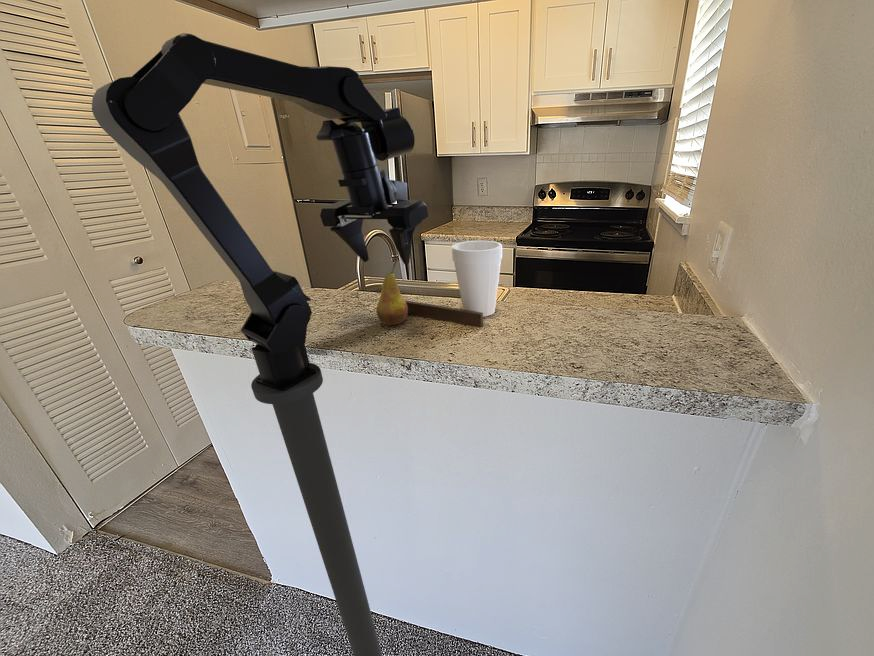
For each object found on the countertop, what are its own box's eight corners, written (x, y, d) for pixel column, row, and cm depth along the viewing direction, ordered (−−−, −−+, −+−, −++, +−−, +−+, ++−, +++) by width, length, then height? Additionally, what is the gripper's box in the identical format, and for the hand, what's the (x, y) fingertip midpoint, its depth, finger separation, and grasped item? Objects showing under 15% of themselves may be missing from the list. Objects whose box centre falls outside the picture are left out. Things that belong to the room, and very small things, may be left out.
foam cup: (481, 300, 87) (479, 238, 81) (512, 310, 81) (512, 244, 75) (446, 311, 81) (441, 246, 75) (476, 324, 75) (474, 254, 69)
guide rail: (481, 327, 74) (480, 314, 73) (393, 311, 82) (392, 300, 81) (483, 325, 75) (483, 312, 73) (396, 310, 83) (395, 298, 82)
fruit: (378, 319, 78) (368, 258, 73) (408, 316, 80) (401, 255, 74) (378, 330, 74) (368, 265, 68) (410, 327, 75) (402, 262, 69)
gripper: (436, 153, 65) (453, 247, 74) (349, 159, 73) (373, 244, 82) (395, 169, 57) (419, 273, 66) (303, 175, 65) (335, 266, 74)
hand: (386, 262), depth 72 cm, fingers open, 9 cm apart
